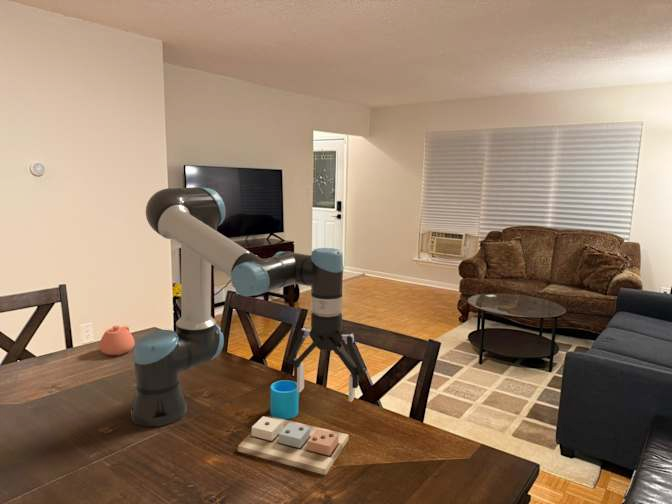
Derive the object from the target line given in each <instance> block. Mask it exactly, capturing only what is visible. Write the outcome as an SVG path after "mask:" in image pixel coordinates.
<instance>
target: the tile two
mask: <svg viewBox="0 0 672 504" xmlns="http://www.w3.org/2000/svg"><path fill="white" fill-rule="evenodd" d="M278 436H279V443H281V445H284V446H288V447H292V448H296V449H302V447H303V446H304V445H305V444H306V443H307V439H308V438H309V437H310V427H307V426H303V425H298V424H294V423H290V422H289V423H288V425H287V426H286V427H285V428H284V429H283V430H282V431H281V432H280V433H279V434H278Z"/></svg>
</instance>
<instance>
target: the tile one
mask: <svg viewBox="0 0 672 504" xmlns="http://www.w3.org/2000/svg"><path fill="white" fill-rule="evenodd" d="M282 430H283V421H282V420H277V419H273V418H269V417H268V416H264V415H263V416H261V418H259V420H257V422H255V423H254V424H253V425H252V426H251V433H252V436H254V437H255V438H257V439H261V440H265V441H269V442H273V441H274V440H275V439H276V438H277V437H278V436H279V433H280V432H281V431H282Z"/></svg>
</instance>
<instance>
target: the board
mask: <svg viewBox="0 0 672 504" xmlns="http://www.w3.org/2000/svg"><path fill="white" fill-rule="evenodd" d="M267 417H269V418H273V419H277V420H282V421H283V429H284V428H285V427H286V426H287V425H288V423H289V422H290V423H294V424H298V425H303V426H307V427H310V437H311V436H312V435H313V433H314V432H315V431H316V430H317V429H320V430H324V431H328V432H332V433H337V434H339V439H338V444H337V446H336V447H335V449H334V450H333V452H332V453H331V455H330V456H327V455H323V454H320V453H318V454H317V453H316V452H312V451H309V450H307V441H308V440H309V438H310V437H309V438H308V439H307V440H306V442H305V443H304V444H303V445H302V447H301V448H296V447H292V446H288V445H284V444H281V443H279V435H277V436H276V437H275V438H274V439H273V440H272V441H269V440H265V439H261V438H257V437H254V436H252V432H250V433H249V435H248V436H246V437H245V438H244V439H243V440H242V441H241V442H240V443H239V444H238V445H237V452H239V453H243V454H247V455H251V456H253V457H257V458H260V459H264V460H268V461H272V462H276V463H279V464H283V465H287V466H290V467H295V468H297V469H298V468H299V469H301V470H304V471H309V472H313V473H317V474H319V475H324V476H326V475H327V474H328V472H329V470H330V469H331V467H332V466H333V464H334V463H335V461H336V460H337V459H338V456H339V455H340V454H341V452H342V451H343V449H344V448H345V446H346V444H347V442H348V441H349V435H350V434H347V433H343V432H339V431H336V430H331V429H327V428H322V427H318V426H314V425H310V424H305V423H302V422H301V423H300V422H297V421H292V420H290V419H280V418H276V417H273V416H272V415H268V416H267Z"/></svg>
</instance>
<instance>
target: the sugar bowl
mask: <svg viewBox="0 0 672 504" xmlns="http://www.w3.org/2000/svg"><path fill="white" fill-rule="evenodd" d="M135 344H136V342H135V338H134V336H133V334H132V333H131V332H130V328H129V326H127V325H124V326H120V325H113V326H112V327H111V328H108V329H106V330H105V332H104V333H103V335H102V336H101V338H100V341H99V345H98V348H99V350H100V351H101V353H103V354H104V355H108V356H122V355H123V354H127V353H129V352H131V350H132V349H133V348H135Z"/></svg>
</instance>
